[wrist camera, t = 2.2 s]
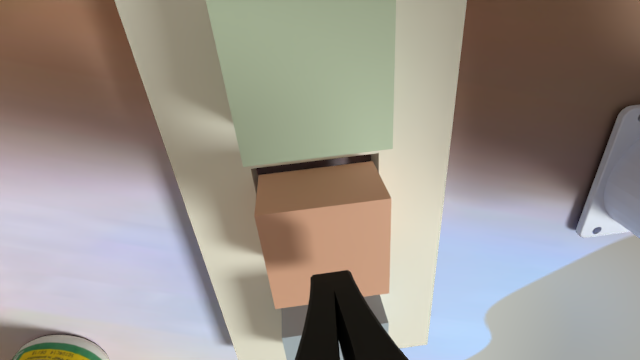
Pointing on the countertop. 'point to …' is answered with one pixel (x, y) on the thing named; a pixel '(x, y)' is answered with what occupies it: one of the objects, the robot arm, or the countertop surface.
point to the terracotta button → (324, 229)
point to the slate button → (296, 319)
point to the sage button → (307, 76)
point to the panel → (241, 182)
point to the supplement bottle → (60, 349)
